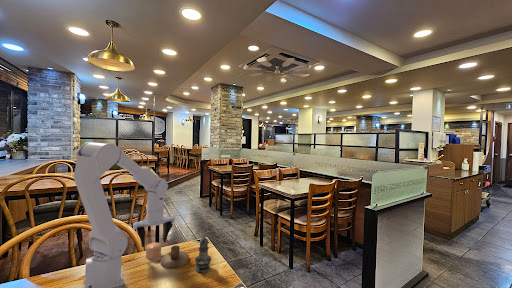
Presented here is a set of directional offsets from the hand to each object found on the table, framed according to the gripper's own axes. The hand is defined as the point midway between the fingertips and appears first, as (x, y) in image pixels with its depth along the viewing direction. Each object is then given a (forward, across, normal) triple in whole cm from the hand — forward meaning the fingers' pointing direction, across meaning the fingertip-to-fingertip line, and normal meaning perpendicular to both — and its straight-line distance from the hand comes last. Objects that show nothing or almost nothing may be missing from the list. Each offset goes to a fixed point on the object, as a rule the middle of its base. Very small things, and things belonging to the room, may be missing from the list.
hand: (153, 243), depth 85 cm
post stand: (+5, +6, -8) cm, 11 cm away
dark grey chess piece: (+5, +12, -18) cm, 22 cm away
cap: (+5, 0, 0) cm, 5 cm away
